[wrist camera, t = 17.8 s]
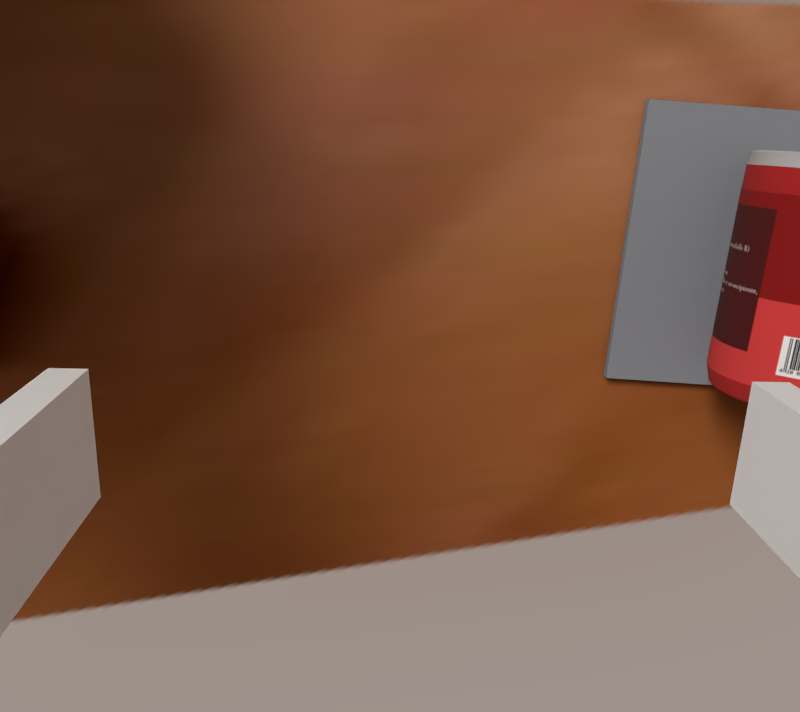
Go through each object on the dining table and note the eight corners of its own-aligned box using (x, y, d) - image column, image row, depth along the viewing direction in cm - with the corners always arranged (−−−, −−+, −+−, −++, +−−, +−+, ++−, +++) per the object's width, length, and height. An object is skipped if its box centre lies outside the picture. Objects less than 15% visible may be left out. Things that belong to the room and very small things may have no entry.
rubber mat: (603, 375, 40) (606, 377, 40) (645, 99, 36) (649, 99, 36) (896, 394, 40) (902, 397, 40) (968, 124, 37) (975, 124, 36)
